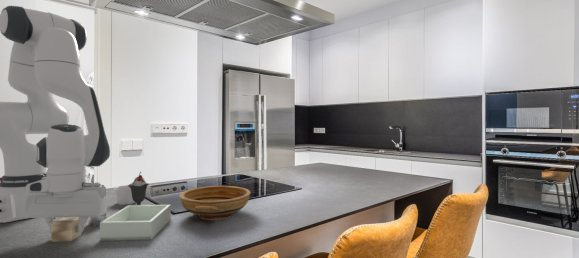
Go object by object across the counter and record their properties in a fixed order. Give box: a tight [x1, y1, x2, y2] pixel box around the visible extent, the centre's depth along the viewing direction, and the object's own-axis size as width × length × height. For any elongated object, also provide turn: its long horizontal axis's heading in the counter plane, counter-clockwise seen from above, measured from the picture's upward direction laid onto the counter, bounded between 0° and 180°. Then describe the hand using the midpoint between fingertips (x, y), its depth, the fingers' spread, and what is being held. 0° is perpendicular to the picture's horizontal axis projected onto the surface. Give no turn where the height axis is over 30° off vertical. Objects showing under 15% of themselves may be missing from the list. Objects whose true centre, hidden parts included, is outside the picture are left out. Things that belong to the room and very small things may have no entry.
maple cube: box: [50, 217, 83, 243], centre depth 86 cm, size 5×5×5 cm
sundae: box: [127, 171, 150, 205], centre depth 111 cm, size 7×7×15 cm
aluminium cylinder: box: [87, 210, 108, 227], centre depth 98 cm, size 5×5×7 cm
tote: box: [99, 204, 172, 242], centre depth 93 cm, size 18×14×5 cm
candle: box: [113, 184, 137, 206], centre depth 124 cm, size 9×9×6 cm
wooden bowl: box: [178, 185, 252, 221], centre depth 108 cm, size 30×24×8 cm
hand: (67, 232), depth 86 cm, fingers closed on maple cube, 5 cm apart
